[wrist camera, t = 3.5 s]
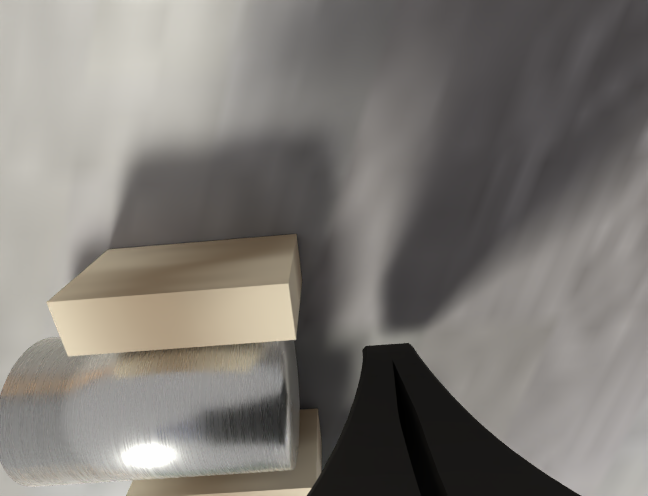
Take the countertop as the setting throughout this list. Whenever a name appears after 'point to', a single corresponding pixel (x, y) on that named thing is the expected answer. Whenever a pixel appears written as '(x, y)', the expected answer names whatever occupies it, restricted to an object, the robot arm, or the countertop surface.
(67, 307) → the beige blocks
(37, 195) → the countertop surface
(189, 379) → the axle
